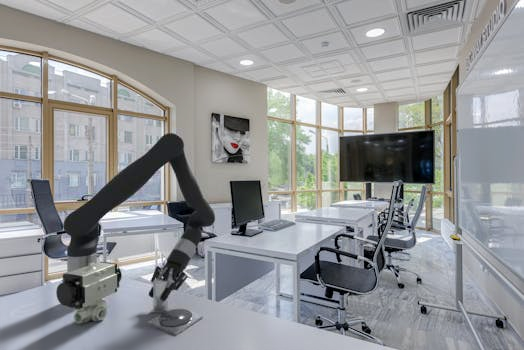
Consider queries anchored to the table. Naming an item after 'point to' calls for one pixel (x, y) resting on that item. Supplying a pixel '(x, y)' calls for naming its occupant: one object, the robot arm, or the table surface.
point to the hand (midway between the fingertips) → (156, 298)
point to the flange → (175, 320)
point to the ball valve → (89, 290)
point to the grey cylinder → (159, 295)
